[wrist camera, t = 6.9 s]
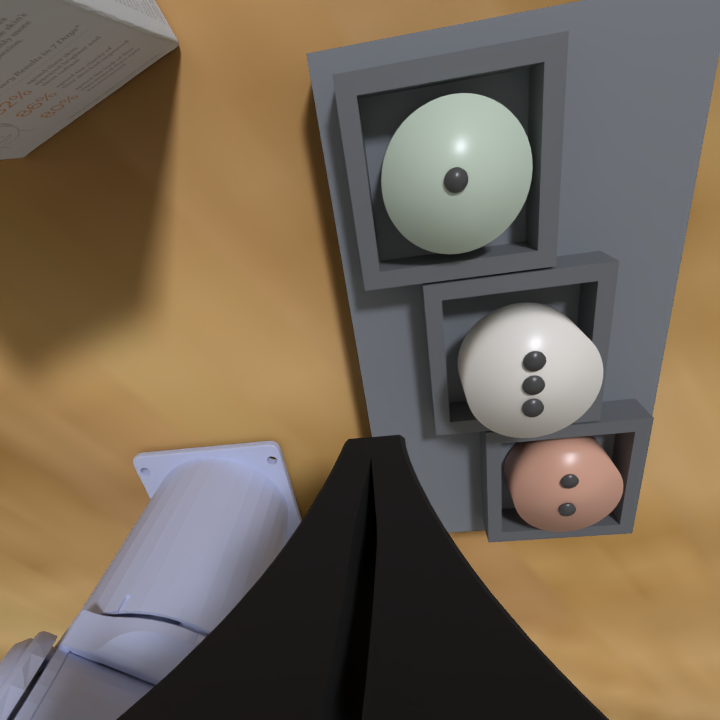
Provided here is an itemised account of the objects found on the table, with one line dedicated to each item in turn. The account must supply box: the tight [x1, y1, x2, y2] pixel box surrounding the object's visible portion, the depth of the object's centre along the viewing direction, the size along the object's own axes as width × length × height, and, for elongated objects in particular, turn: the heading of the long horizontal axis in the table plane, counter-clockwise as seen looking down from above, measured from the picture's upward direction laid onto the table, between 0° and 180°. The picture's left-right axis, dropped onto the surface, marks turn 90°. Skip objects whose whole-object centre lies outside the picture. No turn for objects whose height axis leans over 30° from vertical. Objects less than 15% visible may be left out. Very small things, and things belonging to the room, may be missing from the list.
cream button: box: [458, 302, 603, 438], centre depth 15 cm, size 4×4×2 cm
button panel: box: [307, 0, 720, 542], centre depth 18 cm, size 21×12×3 cm, turn 9°
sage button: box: [381, 93, 533, 254], centre depth 14 cm, size 4×4×2 cm
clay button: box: [504, 436, 623, 532], centre depth 19 cm, size 4×4×2 cm
